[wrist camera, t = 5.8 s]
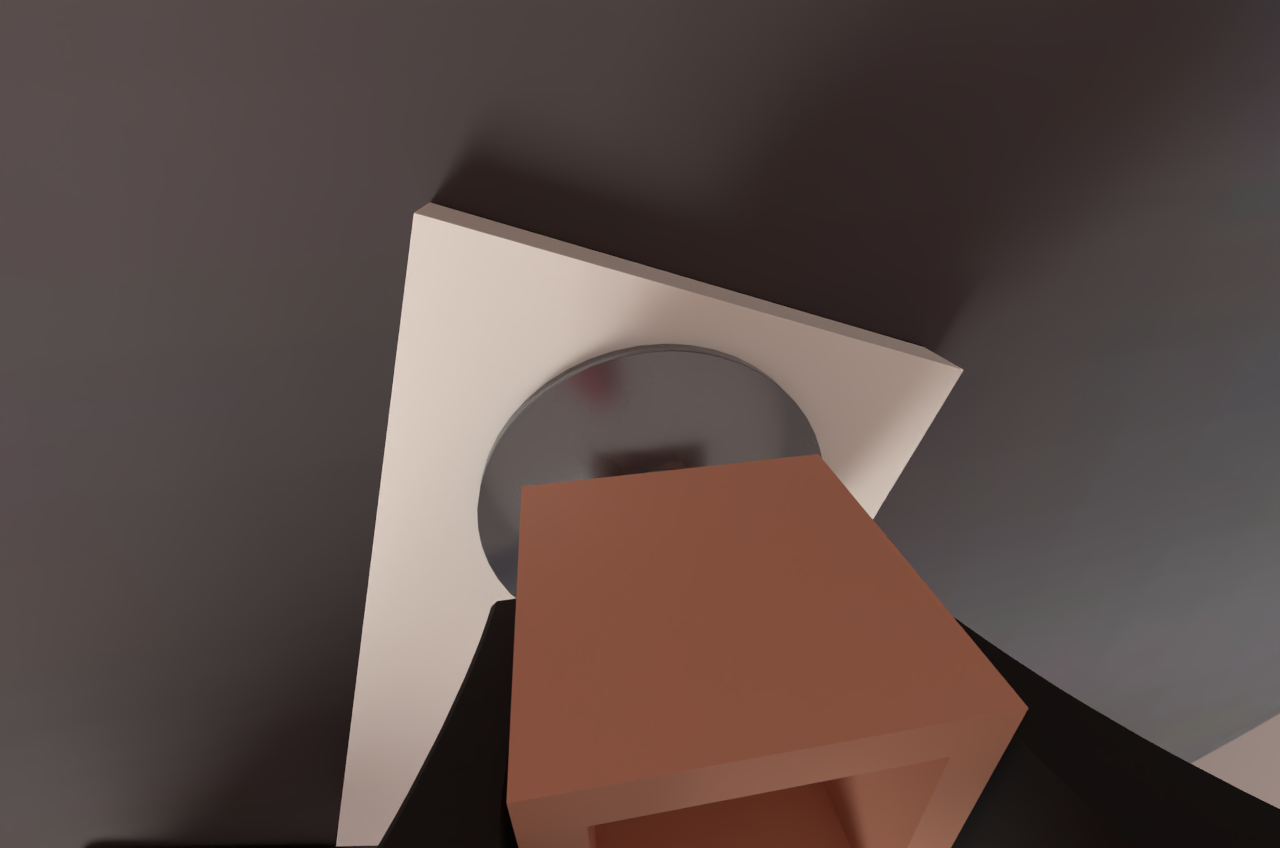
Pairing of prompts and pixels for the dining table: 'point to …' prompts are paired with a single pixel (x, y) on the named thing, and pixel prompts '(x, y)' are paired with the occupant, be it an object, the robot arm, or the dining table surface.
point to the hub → (633, 430)
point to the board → (491, 393)
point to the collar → (738, 670)
